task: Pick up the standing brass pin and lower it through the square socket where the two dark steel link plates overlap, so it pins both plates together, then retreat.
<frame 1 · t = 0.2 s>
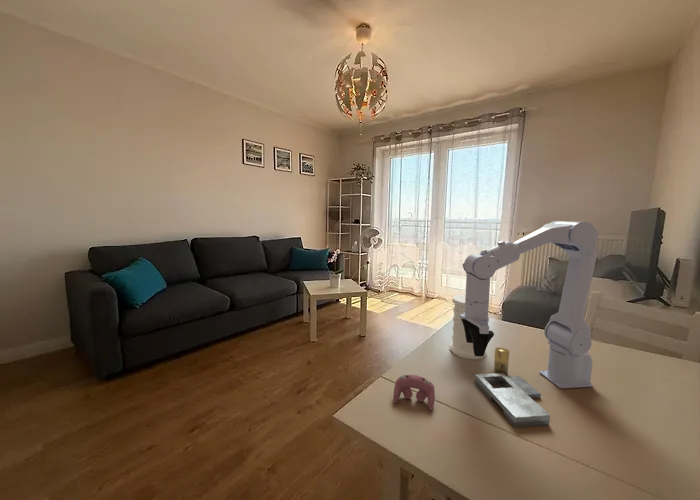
hand: (474, 348, 79), 10 cm above the table, fingers open, 7 cm apart
decorative container: (467, 351, 99), on the table
video game controller: (413, 402, 73), on the table
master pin: (500, 372, 85), on the table
upper link: (497, 390, 77), on the table
lower link: (497, 390, 77), on the table
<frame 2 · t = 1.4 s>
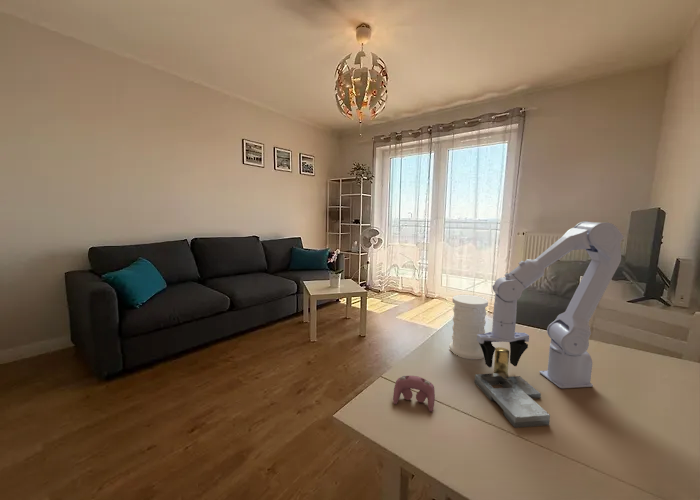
hand: (500, 365, 85), 2 cm above the table, fingers open, 7 cm apart
nothing on the table moved.
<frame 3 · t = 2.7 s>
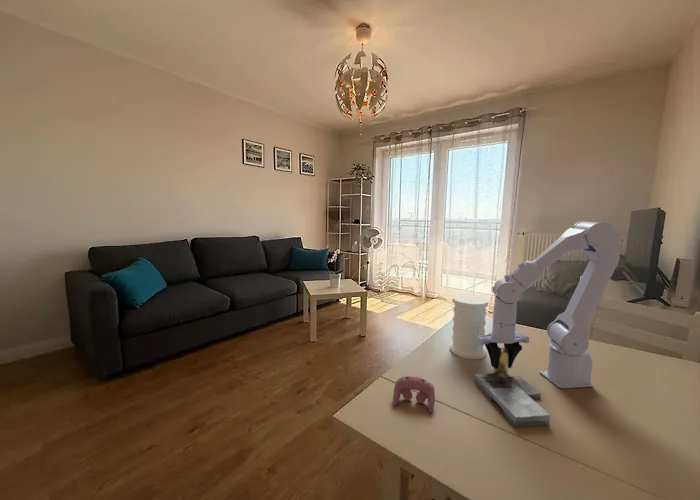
hand: (501, 366, 85), 2 cm above the table, fingers closed on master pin, 4 cm apart
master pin: (500, 372, 85), on the table, touching gripper
everything else where it was.
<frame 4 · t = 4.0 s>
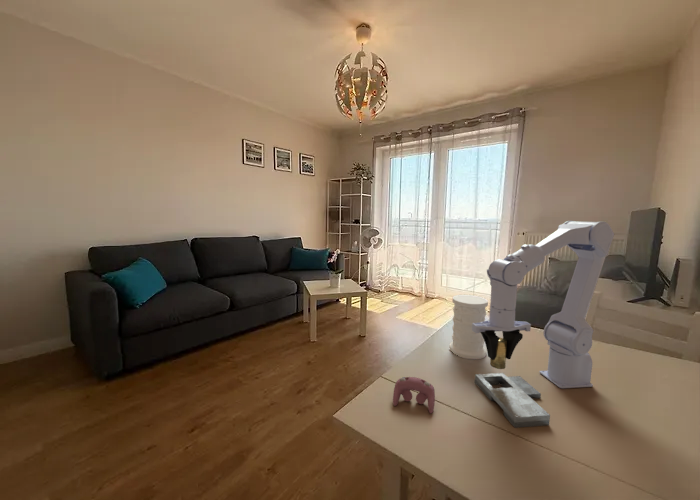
hand: (499, 357, 76), 9 cm above the table, fingers closed on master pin, 4 cm apart
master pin: (497, 365, 77), point 7 cm above the table, touching gripper
everything else where it was.
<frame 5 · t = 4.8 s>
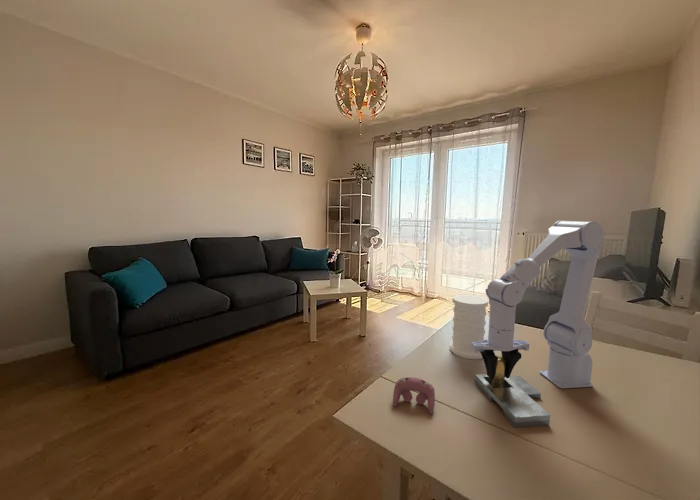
hand: (497, 376, 76), 4 cm above the table, fingers closed on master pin, 4 cm apart
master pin: (496, 384, 77), point 2 cm above the table, touching gripper
when the fingers open (3 cm above the table, at t = 5.3 s): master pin stays where it is, resting in lower link.
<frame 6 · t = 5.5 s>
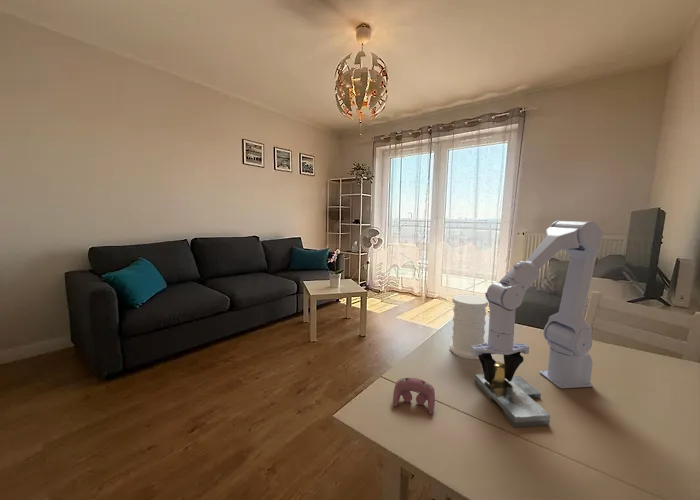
hand: (497, 379, 76), 3 cm above the table, fingers open, 5 cm apart
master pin: (496, 389, 77), resting in lower link
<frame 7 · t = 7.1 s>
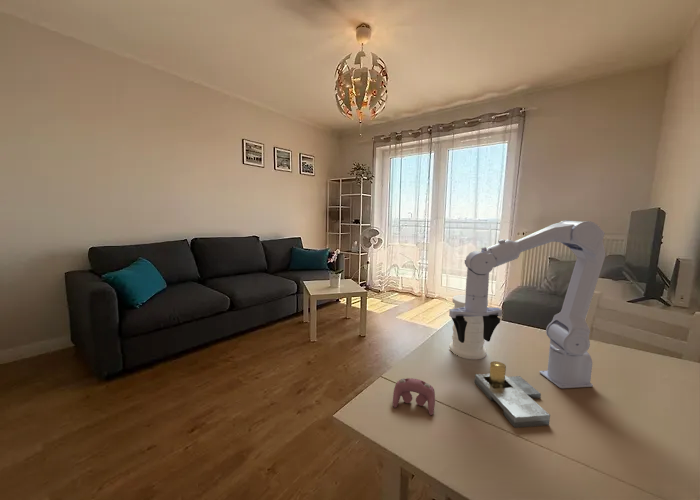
hand: (473, 340, 84), 10 cm above the table, fingers open, 7 cm apart
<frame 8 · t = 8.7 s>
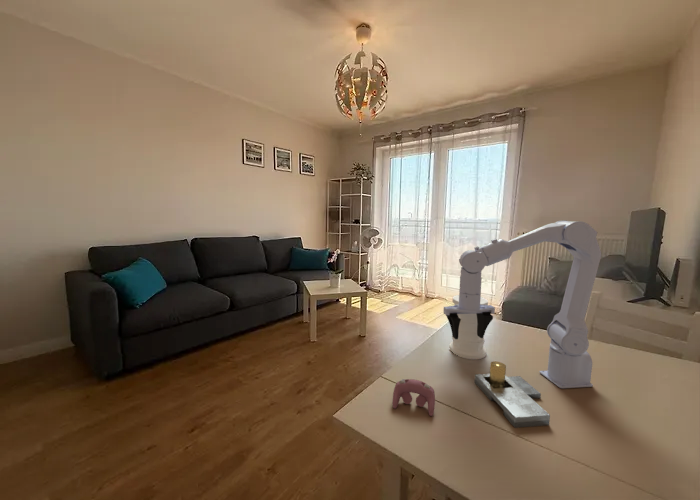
hand: (467, 337, 86), 10 cm above the table, fingers open, 7 cm apart
at the end: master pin 0.3 cm off-centre on the lower link, point 0.0 cm above the lower link's base; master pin tilted 0°; the gripper is holding nothing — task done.
